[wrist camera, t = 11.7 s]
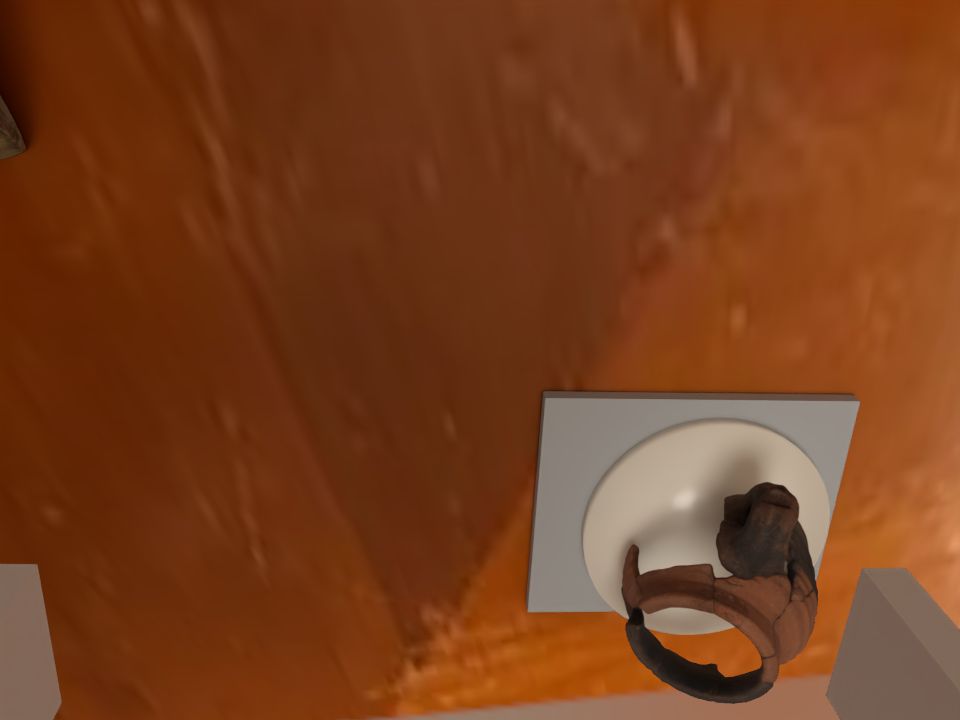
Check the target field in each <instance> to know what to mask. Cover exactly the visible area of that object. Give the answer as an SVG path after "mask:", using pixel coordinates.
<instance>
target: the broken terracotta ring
mask: <svg viewBox="0 0 960 720" xmlns="http://www.w3.org/2000/svg"><path fill="white" fill-rule="evenodd" d="M724 503H725V504H724V520H723V521H722V522H721V524H720V530H719V533H718V534H717V537H716V547H717V550H718V557H719V560H720V563H721V565H722V566H723V567H724V568H725V570H727V571H728V572H730V573H732V574H733V575H732V576H729V577H719V578H716V577H715V575H714V572H713V567H712V565H711V564H695V565H677V566H673V567H670V568H666V569H657V570H652V571H648V572H645V573H643V574H641V575H640V572H639V568H638V556H639V548H638V546H636V545H634V544H633V545H632V546H631V547H630V548H629V550H628V553H627V556H626V558H625V564H624V567H623V578H622V585H623V586H622V588H621V592H622V596H623V600H624V603H625V608H626V611H627V614H628V616H629V620H628V622H627V623H626V633H627V638H628V641H629V643H630V645H631V648H632V650H633V652H634V653H635V655H636V656H637V658H638V659H639V660H640V661H641V662H642V663H643V664H644V665H645V666H646V667H647V668H648V669H650V670H651V671H652V673H653V674H654V675H656V676H657V677H658V678H660V679H661V681H663V682H665V683H667V684H669V685H671V686H672V687H674V688H675V689H677V690H679V691H681V692H683V693H686V694H688V695H690V696H693V697H696V698H698V699H703V700H707V701H714V702H718V703H733V704H734V703H742V702H748V701H751V700H754V699H756V698H759V697H761V696H762V695H764V694H765V693H767V692H768V691H769V690H770V689H771V688H772V687H773V683H774V682H775V681H776V679H777V676H778V673H779V665H780V664H784V663H787V662H788V661H789V660H792V659H794V658H795V657H796V656H797V654H799V653H800V652H801V651H802V650H803V648H804V647H805V646H806V644H807V642H808V639H809V637H810V635H811V633H812V631H813V628H814V624H815V617H816V614H817V605H818V590H817V587H816V580H815V570H814V567H813V563H812V558H811V555H810V553H809V547H808V541H807V537H806V534H805V532H804V530H803V528H802V526H801V524H800V523H799V521H798V518H799V503H798V501H797V498H796V497H795V496H794V495H793V494H792V493H790V492H789V490H788V489H787V488H786V487H785V486H784V485H778V484H773V483H770V482H764V483H761V484H757V485H755V486H754V487H753V488H751V489H750V490H749V491H748V492H747V493H746V494H736V495H731V496H728V497H725V499H724ZM785 561H787V570H788V575H786V574H784V564H785ZM667 608H688V609H694V610H698V611H702V612H707V613H711V614H715V615H717V616H718V617H720V618H722V619H724V620H725V621H727V622H729V623H730V624H732V625H733V626H735V627H736V628H737V629H739V630H740V631H741V632H742V633H743V634H745V635H746V636H747V637H748V638H749V639H750V640H751V641H752V643H753V644H754V645H755V647H756V648H757V650H758V651H759V653H760V655H761V660H762V666H761V668H759V669H757V670H754V671H751V672H748V673H745V674H742V675H738V676H735V677H724V676H723V675H722V674H721V673H720V672H719V671H718V669H717V665H716V664H707V665H700V664H697V663H693V662H690V661H688V660H686V659H685V658H683V657H681V656H679V655H678V654H676V653H675V652H672V651H670V650H668V649H665V648H664V647H663V646H662V645H661V643H660V641H659V640H658V639H657V638H656V637H655V636H654V635H653V634H652V633H651V632H650V631H649V630H648V629H647V628H646V627H645V624H644V614H643V611H644V612H645V613H647V614H652V613H654V612H657V611H660V610H663V609H667ZM642 610H643V611H642Z"/></svg>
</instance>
